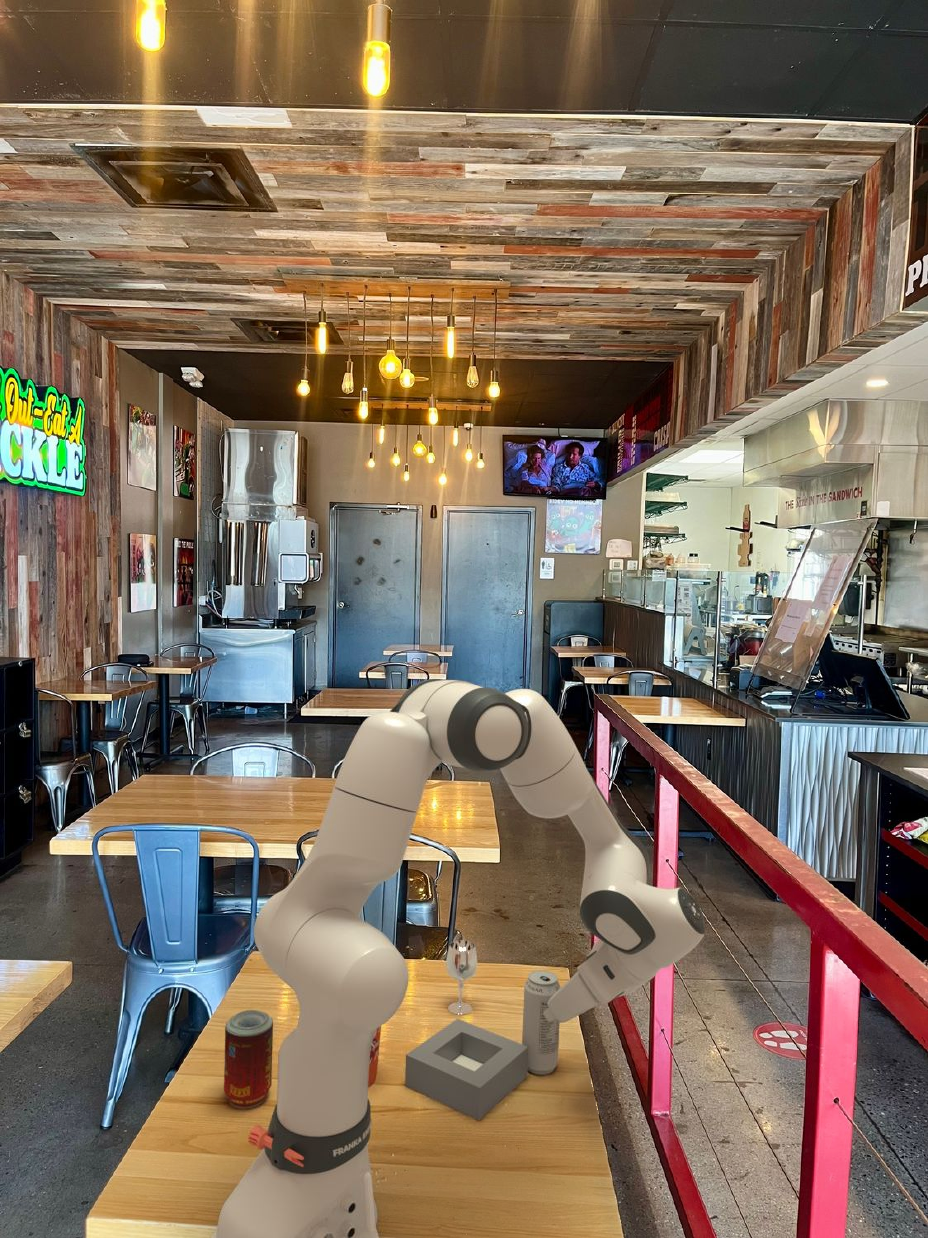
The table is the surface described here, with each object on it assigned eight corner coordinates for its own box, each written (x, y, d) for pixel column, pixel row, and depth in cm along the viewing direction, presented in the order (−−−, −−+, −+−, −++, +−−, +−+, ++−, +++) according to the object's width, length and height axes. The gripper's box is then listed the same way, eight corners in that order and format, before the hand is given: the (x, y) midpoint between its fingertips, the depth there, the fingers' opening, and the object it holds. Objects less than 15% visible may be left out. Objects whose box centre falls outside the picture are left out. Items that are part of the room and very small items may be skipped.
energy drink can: (540, 1052, 143) (544, 965, 143) (565, 1069, 138) (569, 980, 138) (513, 1063, 140) (517, 974, 139) (537, 1081, 135) (541, 989, 134)
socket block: (478, 1121, 124) (479, 1088, 124) (404, 1086, 132) (405, 1055, 132) (527, 1077, 136) (528, 1047, 136) (456, 1047, 144) (457, 1018, 144)
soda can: (229, 1083, 131) (231, 1006, 131) (275, 1083, 132) (277, 1007, 131) (218, 1111, 124) (220, 1030, 124) (266, 1112, 125) (268, 1031, 124)
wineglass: (445, 1000, 160) (447, 938, 159) (475, 1002, 160) (478, 939, 159) (443, 1015, 154) (445, 951, 154) (475, 1017, 154) (477, 953, 153)
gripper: (634, 923, 140) (579, 964, 146) (577, 967, 123) (518, 1011, 129) (659, 957, 138) (602, 997, 144) (604, 1006, 121) (542, 1049, 127)
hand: (561, 1004), depth 136 cm, fingers open, 8 cm apart
